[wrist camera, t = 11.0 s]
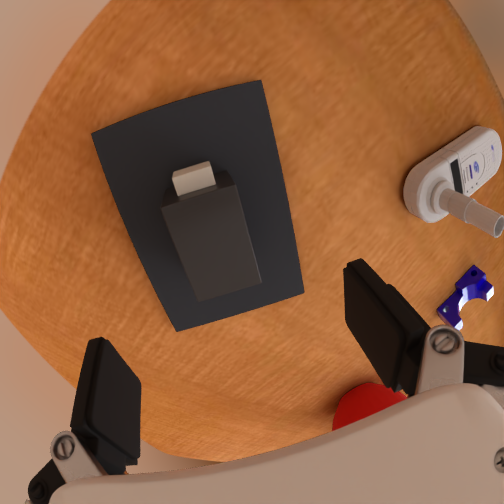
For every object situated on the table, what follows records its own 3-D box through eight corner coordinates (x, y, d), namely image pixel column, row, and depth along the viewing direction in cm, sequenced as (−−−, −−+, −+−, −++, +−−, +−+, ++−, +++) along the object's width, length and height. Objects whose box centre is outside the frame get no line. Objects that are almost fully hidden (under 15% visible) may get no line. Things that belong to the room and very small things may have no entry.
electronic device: (553, 187, 17) (479, 272, 17) (488, 160, 25) (406, 223, 26) (552, 138, 14) (479, 214, 15) (480, 118, 22) (393, 175, 23)
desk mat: (93, 133, 17) (90, 133, 17) (259, 80, 18) (261, 79, 17) (176, 327, 26) (176, 332, 26) (302, 289, 27) (304, 293, 26)
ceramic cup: (384, 410, 45) (407, 451, 36) (305, 424, 40) (325, 477, 31) (423, 361, 40) (455, 405, 31) (343, 370, 35) (376, 432, 26)
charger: (159, 173, 19) (153, 188, 16) (222, 153, 19) (230, 164, 16) (195, 272, 23) (198, 302, 20) (250, 255, 23) (262, 283, 20)
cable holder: (473, 264, 32) (492, 279, 28) (475, 279, 33) (493, 294, 30) (434, 303, 33) (452, 322, 30) (438, 316, 35) (455, 334, 31)
